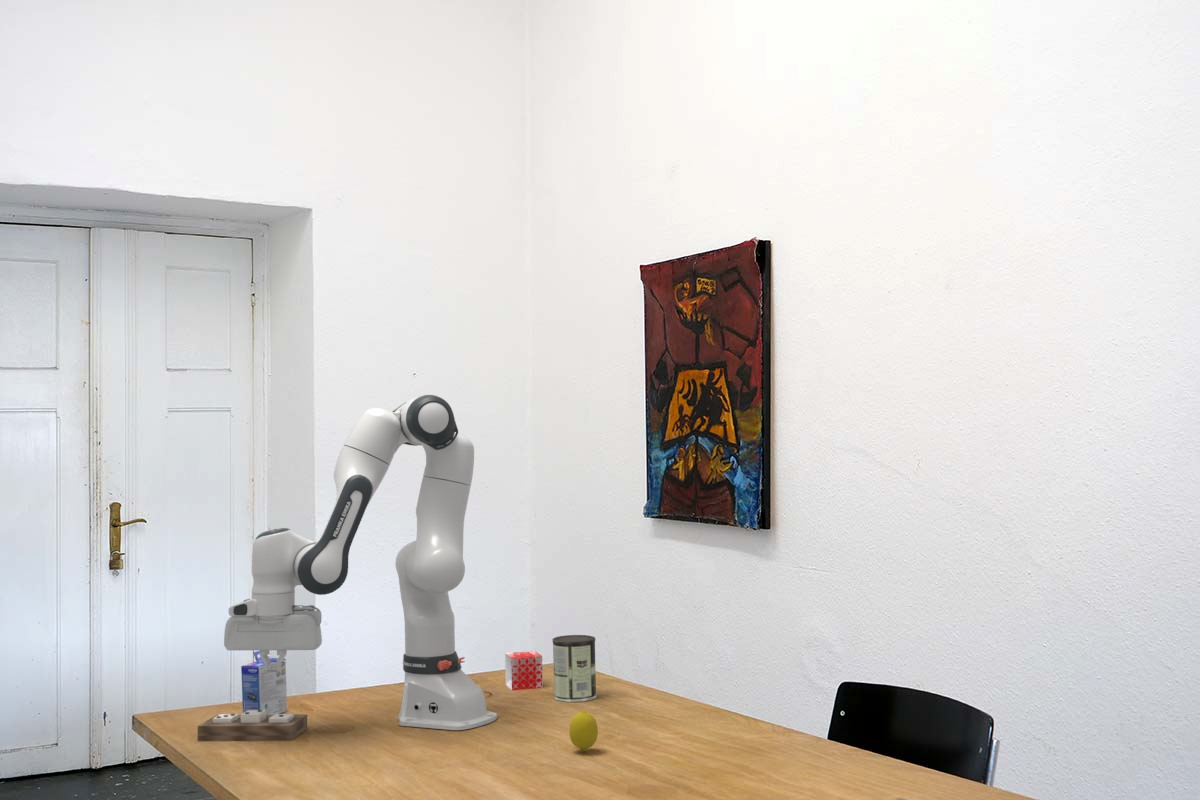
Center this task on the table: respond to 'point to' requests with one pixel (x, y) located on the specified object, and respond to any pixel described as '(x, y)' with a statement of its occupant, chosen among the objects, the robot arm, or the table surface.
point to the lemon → (583, 730)
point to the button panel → (252, 730)
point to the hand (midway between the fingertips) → (273, 671)
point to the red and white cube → (523, 670)
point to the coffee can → (574, 668)
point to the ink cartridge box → (264, 687)
